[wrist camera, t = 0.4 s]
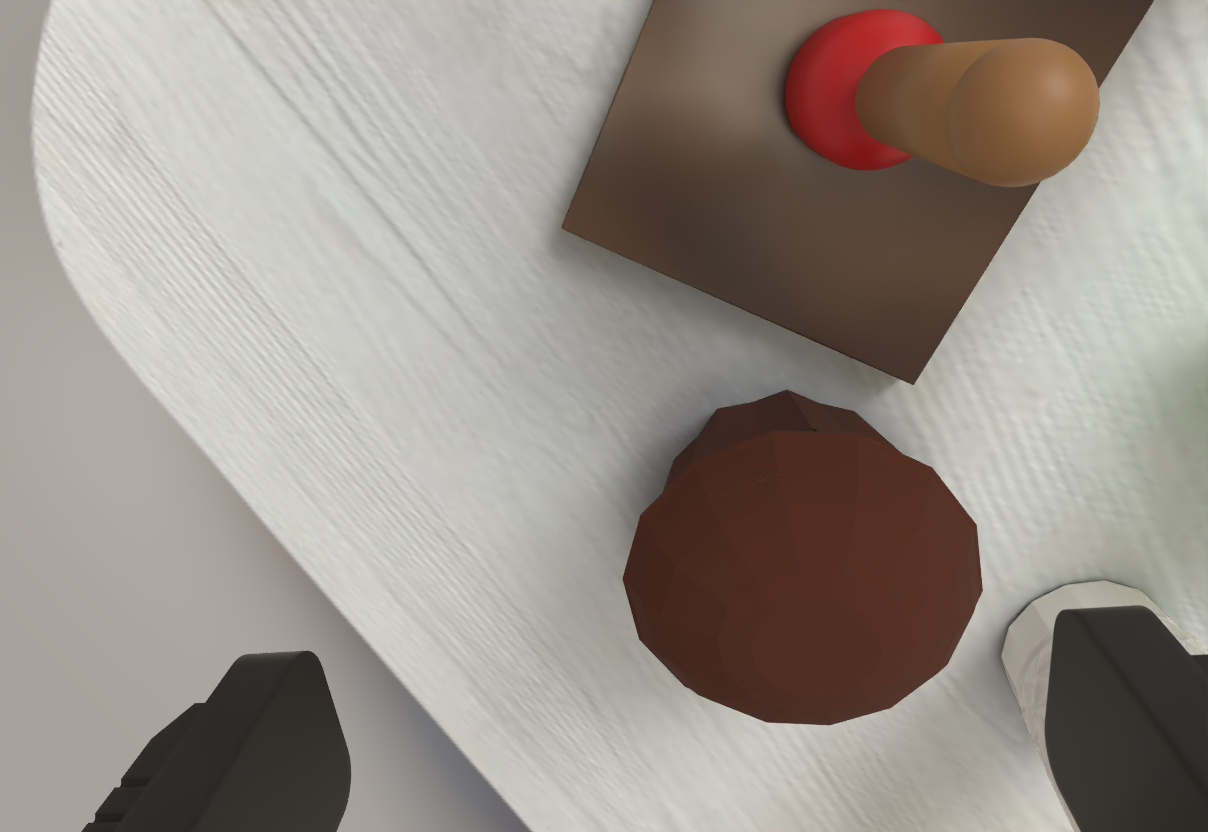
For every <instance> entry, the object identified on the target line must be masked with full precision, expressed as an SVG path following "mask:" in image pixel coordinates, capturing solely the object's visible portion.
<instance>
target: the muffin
mask: <svg viewBox="0 0 1208 832" xmlns="http://www.w3.org/2000/svg"><path fill="white" fill-rule="evenodd" d="M623 583H624V586H625V590H626V593H627V597H628V601H629V604H630V608H631V612H632V615H633V619H634V622H635V626H636V630H637V633H638V637H639V640H640V641H641V642H642V643H643V644H644V645H645V646H646V647H647V648H648V649H649V650H650V651H651V652H652V653H653V654H654V655H655V656H656V657H657V658H658V659H659V660H660V661H661V662H662V663H663V664H664V665H665V666H666V668H667V669H668V670H669V671H670V672H671V673H672V674H673V675H674V676H675V677H676V678H677V679H678V680H679V681H680V682H681V683H682V684H683V685H684V686H685V687H687V688H690V689H691V690H693V691H694V692H695V693H697V694H698V695H700V696H702V697H705V698H707V699H709V700H712V701H714V702H717V703H719V704H722V705H724V706H727V707H729V708H732V709H734V710H737V711H739V712H742V713H744V714H747V715H750V716H752V717H755V718H757V719H760V720H762V721H765V722H770V723H792V724H815V725H832V724H836V723H839V722H843V721H847V720H850V719H854V718H857V717H861V716H864V715H868V714H871V713H875V712H878V711H882V710H885V709H889V708H891V707H893V706H894V705H895V704H897V703H898V702H899V701H901V700H902V699H903V698H905V697H906V696H907V695H909V694H910V693H912V692H913V691H914V690H916V689H917V688H918V687H920V686H921V685H922V684H924V683H925V682H926V681H928V680H929V679H930V678H932V677H933V676H934V675H936V674H937V673H938V672H940V671H941V670H942V669H943V668H944V667H945V666H946V665H947V664H948V662H949V660H950V658H951V656H952V654H953V652H954V650H955V648H956V646H957V645H958V643H959V641H960V639H961V637H962V635H963V633H964V631H965V629H966V627H967V625H968V623H969V621H970V619H971V617H972V615H973V613H974V610H975V607H976V604H977V602H978V599H979V597H980V595H981V593H982V591H983V588H982V578H981V567H980V557H979V546H978V536H977V525H976V524H975V522H974V521H973V520H972V518H971V517H970V516H969V515H968V513H967V512H966V511H965V509H964V508H963V507H962V505H961V504H960V503H959V502H958V500H957V499H956V498H955V496H954V495H953V494H952V493H951V491H950V490H949V489H948V487H947V486H946V485H945V484H944V482H943V481H942V480H941V478H940V477H939V476H938V474H937V473H936V472H935V471H934V469H933V468H932V467H930V466H927V465H925V464H923V463H921V462H919V461H916V460H914V459H912V458H910V457H908V456H906V455H903V454H902V453H901V452H900V451H899V450H897V449H896V448H895V447H894V446H893V445H892V444H891V443H889V442H888V441H887V440H886V439H885V438H884V437H883V436H882V435H880V434H879V433H878V432H877V431H876V430H875V429H874V428H872V427H871V426H870V425H869V424H868V423H867V422H866V421H865V420H863V419H862V418H861V417H860V416H859V415H858V414H857V413H855V412H854V411H850V410H846V409H842V408H837V407H833V406H828V405H824V404H820V403H817V402H815V401H813V400H810V399H808V398H806V397H803V396H801V395H799V394H796V393H794V392H792V391H789V390H785V391H782V392H779V393H777V394H774V395H771V396H768V397H766V398H763V399H760V400H758V401H755V402H751V403H746V404H741V405H735V406H730V407H724V408H719V409H717V410H716V412H715V413H714V415H713V416H712V417H711V419H710V420H709V422H708V423H707V425H706V426H705V427H704V429H703V430H702V432H701V433H700V435H699V436H698V437H697V438H696V439H695V440H694V441H693V442H692V443H691V444H690V445H689V446H688V447H687V448H686V449H685V450H684V451H683V452H682V453H681V454H680V455H679V456H678V457H676V458H675V460H674V462H673V465H672V468H671V470H670V473H669V476H668V479H667V481H666V484H665V487H664V490H663V492H662V494H661V495H660V496H659V497H658V498H657V499H656V500H655V501H654V502H653V503H652V504H651V505H650V506H649V507H648V508H647V509H646V510H645V511H644V512H643V513H642V514H641V515H640V519H639V522H638V526H637V529H636V533H635V536H634V540H633V543H632V547H631V550H630V554H629V557H628V561H627V564H626V568H625V572H624V575H623Z"/></svg>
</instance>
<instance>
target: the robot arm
mask: <svg viewBox="0 0 1208 832" xmlns="http://www.w3.org/2000/svg"><path fill="white" fill-rule="evenodd" d="M1044 730H1045V744H1046V750H1047V755H1048V760H1049V764H1050V767H1051V771H1052V774H1053V777H1054V780H1055V782H1056V785H1057V787H1058V789H1059V791H1060V793H1061V795H1062V797H1063V799H1064V801H1065V803H1066V805H1067V806H1068V808H1069V810H1070V812H1071V814H1072V816H1073V818H1074V820H1075V822H1076V824H1077V825H1078V827H1079V829H1080V831H1081V832H1208V654H1202V655H1190V654H1189V653H1188V651H1187V650H1186V649H1185V648H1184V647H1183V646H1182V645H1181V643H1180V642H1179V641H1178V640H1177V639H1176V638H1175V636H1174V635H1173V634H1172V633H1171V632H1170V631H1169V629H1168V628H1167V627H1166V626H1165V625H1164V624H1163V623H1162V621H1161V620H1160V619H1159V618H1158V617H1157V616H1156V615H1155V614H1154V613H1153V612H1152V611H1151V610H1150V609H1149V608H1147V607H1145V606H1142V605H1133V606H1115V607H1098V608H1081V609H1064V610H1062V611H1060V613H1059V614H1058V615H1057V617H1056V620H1055V624H1054V631H1053V642H1052V652H1051V662H1050V673H1049V683H1048V693H1047V704H1046V714H1045V727H1044ZM350 784H351V763H350V756H349V752H348V748H347V745H346V742H345V738H344V735H343V732H342V729H341V726H340V722H339V719H338V716H337V713H336V710H335V706H334V703H333V700H332V697H331V693H330V690H329V687H328V684H327V681H326V677H325V674H324V671H323V668H322V665H321V663H320V661H319V659H318V657H317V656H316V655H315V654H314V653H312V652H311V651H295V652H278V653H262V654H247V655H243V656H241V657H239V658H238V659H237V660H236V661H235V662H234V663H233V665H232V666H231V667H230V669H229V670H228V672H227V673H226V675H225V676H224V677H223V679H222V680H221V682H220V683H219V684H218V686H217V687H216V688H215V690H214V691H213V693H212V694H211V695H210V697H209V698H208V700H207V701H206V702H205V703H195V704H194V705H192V706H191V707H190V708H189V709H187V710H186V711H185V712H184V713H183V714H181V715H180V716H179V717H178V718H177V719H175V720H174V721H173V722H171V723H170V724H169V725H168V726H167V727H166V728H164V729H163V730H162V731H160V732H159V733H158V734H157V735H156V736H154V737H153V738H152V739H151V740H150V742H149V743H148V744H147V746H146V747H145V748H144V749H143V751H142V752H141V754H140V755H139V756H138V758H137V759H136V760H135V761H134V763H133V764H132V766H131V767H130V768H129V769H128V771H127V772H126V773H125V775H124V776H123V777H122V779H121V786H120V787H119V788H114V789H113V791H112V792H111V793H110V795H109V796H108V797H107V799H106V800H105V801H104V803H103V804H102V805H101V807H100V808H99V809H98V811H97V812H96V813H95V821H94V822H93V823H88V824H87V825H86V827H85V828H84V829H83V830H82V832H336V831H337V829H338V826H339V824H340V822H341V819H342V817H343V815H344V812H345V809H346V806H347V802H348V797H349V792H350Z"/></svg>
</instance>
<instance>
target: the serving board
mask: <svg viewBox="0 0 1208 832" xmlns="http://www.w3.org/2000/svg"><path fill="white" fill-rule="evenodd" d="M1153 1H1154V0H654V1H653V3H652V6H651V8H650V11H649V13H648V16H647V18H646V20H645V23H644V25H643V28H642V30H641V33H640V35H639V38H638V40H637V43H636V45H635V47H634V50H633V52H632V55H631V57H630V60H629V62H628V65H627V67H626V70H625V72H624V75H623V77H622V79H621V82H620V84H619V87H618V89H617V92H616V94H615V97H614V99H613V102H612V104H611V107H610V109H609V111H608V114H607V116H606V119H605V121H604V124H603V126H602V129H601V131H600V134H599V136H598V139H597V141H596V143H595V146H594V148H593V151H592V153H591V156H590V158H589V161H588V163H587V166H586V168H585V170H584V173H583V175H582V178H581V180H580V183H579V185H578V188H577V190H576V193H575V195H574V198H573V200H572V202H571V205H570V207H569V210H568V212H567V215H566V217H565V220H564V222H563V225H562V229H563V230H565V231H568V232H570V233H572V234H574V235H577V236H579V237H581V238H583V239H586V240H588V241H590V242H592V243H595V244H597V245H599V246H601V247H604V248H606V249H608V250H610V251H613V252H615V253H617V254H619V255H622V256H624V257H626V258H628V259H631V260H633V261H635V262H637V263H640V264H642V265H644V266H646V267H649V268H651V269H653V270H655V271H658V272H660V273H662V274H664V275H667V276H669V277H671V278H673V279H676V280H678V281H680V282H682V283H685V284H687V285H689V286H691V287H694V288H696V289H698V290H700V291H703V292H705V293H707V294H709V295H712V296H714V297H716V298H718V299H721V300H723V301H725V302H727V303H730V304H732V305H734V306H736V307H739V308H741V309H743V310H745V311H748V312H750V313H752V314H754V315H757V316H759V317H761V318H763V319H766V320H768V321H770V322H772V323H775V324H777V325H779V326H781V327H784V328H786V329H788V330H790V331H793V332H795V333H797V334H799V335H802V336H804V337H806V338H808V339H811V340H813V341H815V342H817V343H820V344H822V345H824V346H826V347H829V348H831V349H833V350H835V351H838V352H840V353H842V354H844V355H847V356H849V357H851V358H853V359H856V360H858V361H860V362H862V363H865V364H867V365H869V366H871V367H874V368H876V369H878V370H880V371H883V372H885V373H887V374H889V375H892V376H894V377H896V378H898V379H901V380H903V381H905V382H907V383H910V384H912V385H914V383H915V382H916V380H917V379H918V377H919V375H920V374H921V372H922V371H923V369H924V367H925V366H926V364H927V363H928V361H929V359H930V358H931V356H932V355H933V353H934V351H935V350H936V348H937V347H938V345H939V343H940V342H941V340H942V339H943V337H944V335H945V334H946V332H947V331H948V329H949V327H950V326H951V324H952V323H953V321H954V319H955V318H956V316H957V315H958V313H959V311H960V310H961V308H962V307H963V305H964V303H965V302H966V300H967V299H968V297H969V295H970V294H971V292H972V291H973V289H974V287H975V286H976V284H977V283H978V281H979V279H980V278H981V276H982V275H983V273H984V271H985V270H986V268H987V267H988V265H989V263H990V262H991V260H992V259H993V257H994V255H995V254H996V252H997V251H998V249H999V247H1000V246H1001V244H1002V243H1003V241H1004V239H1005V238H1006V236H1007V235H1008V233H1009V231H1010V230H1011V228H1012V227H1013V225H1014V223H1015V222H1016V220H1017V219H1018V217H1019V215H1020V214H1021V212H1022V211H1023V209H1024V207H1025V206H1026V204H1027V203H1028V201H1029V199H1030V198H1031V196H1032V195H1033V193H1034V191H1035V190H1036V188H1037V187H1038V185H1039V183H1040V182H1041V181H1040V182H1038V183H1034V184H1031V185H1027V186H1022V187H1000V186H993V185H989V184H985V183H983V182H980V181H978V180H975V179H972V178H970V177H967V176H965V175H962V174H960V173H957V172H954V171H952V170H949V169H947V168H944V167H942V166H939V165H936V164H934V163H931V162H929V161H926V160H924V159H921V158H919V157H916V156H912V157H911V158H909V159H908V160H906V161H904V162H901V163H899V164H897V165H894V166H891V167H888V168H884V169H879V170H867V171H865V170H855V169H851V168H846V167H843V166H840V165H838V164H835V163H834V162H832V161H830V160H828V159H826V158H825V157H823V156H822V155H820V154H818V153H817V152H815V151H814V150H812V149H811V148H810V147H808V146H807V145H806V144H805V143H804V142H803V141H802V140H801V139H800V138H799V136H798V135H797V133H796V132H795V130H794V129H793V127H792V125H791V122H790V120H789V117H788V114H787V109H786V103H785V87H786V80H787V76H788V72H789V69H790V66H791V64H792V61H793V59H794V57H795V56H796V54H797V52H798V50H799V49H800V48H801V46H802V45H803V43H804V42H805V41H806V40H807V39H808V38H809V37H810V36H811V35H812V34H813V33H814V32H815V31H816V30H818V29H819V28H820V27H822V26H823V25H825V24H826V23H828V22H831V21H833V20H835V19H837V18H840V17H843V16H846V15H850V14H854V13H858V12H862V11H867V10H872V9H896V10H900V11H905V12H908V13H910V14H913V15H915V16H917V17H919V18H921V19H922V20H924V21H925V22H927V23H928V24H929V25H930V26H931V27H933V28H934V30H935V31H936V32H937V33H938V34H939V35H940V36H941V38H942V39H943V41H944V42H945V43H955V42H971V41H987V40H1003V39H1019V38H1043V39H1048V40H1052V41H1055V42H1058V43H1061V44H1063V45H1066V46H1067V47H1069V48H1071V49H1072V50H1074V51H1075V52H1077V53H1078V54H1079V55H1080V57H1081V58H1082V59H1083V60H1084V61H1085V62H1086V63H1087V64H1088V66H1089V67H1090V69H1091V71H1092V73H1093V74H1094V76H1095V79H1096V82H1097V86H1098V89H1099V87H1100V86H1101V84H1102V83H1103V81H1104V79H1105V78H1106V76H1107V75H1108V73H1109V71H1110V70H1111V68H1112V67H1113V65H1114V63H1115V62H1116V60H1117V59H1118V57H1119V55H1120V54H1121V52H1122V51H1123V49H1124V47H1125V46H1126V44H1127V43H1128V41H1129V39H1130V38H1131V36H1132V35H1133V33H1134V31H1135V30H1136V28H1137V27H1138V25H1139V23H1140V22H1141V20H1142V19H1143V17H1144V15H1145V14H1146V12H1147V11H1148V9H1149V7H1150V6H1151V4H1152V3H1153Z"/></svg>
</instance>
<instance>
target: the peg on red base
mask: <svg viewBox="0 0 1208 832" xmlns="http://www.w3.org/2000/svg"><path fill="white" fill-rule="evenodd" d="M785 103H786V109H787V114H788V117H789V120H790V122H791V125H792V127H793V129H794V130H795V132H796V133H797V135H798V136H799V138H800V139H801V140H802V141H803V142H804V143H805V144H806V145H807V146H808V147H810V148H811V149H812V150H814V151H815V152H817V153H818V154H820V155H822V156H823V157H825V158H826V159H828V160H830V161H832V162H834V163H835V164H838V165H840V166H843V167H846V168H851V169H855V170H865V171H867V170H879V169H884V168H888V167H891V166H894V165H897V164H899V163H901V162H904V161H906V160H908V159H909V158H911V157H912V156H916V157H919V158H921V159H924V160H926V161H929V162H931V163H934V164H936V165H939V166H942V167H944V168H947V169H949V170H952V171H954V172H957V173H960V174H962V175H965V176H967V177H970V178H972V179H975V180H978V181H980V182H983V183H985V184H989V185H993V186H1000V187H1022V186H1027V185H1031V184H1034V183H1038V182H1040V181H1042V180H1044V179H1047V178H1049V177H1051V176H1053V175H1055V174H1057V173H1058V172H1059V171H1061V170H1062V169H1064V168H1065V167H1067V166H1068V165H1069V164H1070V163H1071V162H1072V161H1073V160H1074V159H1075V158H1076V157H1077V156H1078V155H1079V154H1080V152H1081V151H1082V150H1083V148H1084V147H1085V146H1086V144H1087V143H1088V141H1089V139H1090V137H1091V135H1092V133H1093V131H1094V128H1095V125H1096V122H1097V119H1098V113H1099V105H1100V101H1099V89H1098V86H1097V82H1096V79H1095V76H1094V74H1093V73H1092V71H1091V69H1090V67H1089V66H1088V64H1087V63H1086V62H1085V61H1084V60H1083V59H1082V58H1081V57H1080V55H1079V54H1078V53H1077V52H1075V51H1074V50H1072V49H1071V48H1069V47H1067V46H1066V45H1063V44H1061V43H1058V42H1055V41H1052V40H1048V39H1043V38H1019V39H1003V40H987V41H971V42H955V43H945V42H944V41H943V39H942V38H941V36H940V35H939V34H938V33H937V32H936V31H935V30H934V28H933V27H931V26H930V25H929V24H928V23H927V22H925V21H924V20H922V19H921V18H919V17H917V16H915V15H913V14H910V13H908V12H905V11H900V10H896V9H872V10H867V11H862V12H858V13H854V14H850V15H846V16H843V17H840V18H837V19H835V20H833V21H831V22H828V23H826V24H825V25H823V26H822V27H820V28H819V29H818V30H816V31H815V32H814V33H813V34H812V35H811V36H810V37H809V38H808V39H807V40H806V41H805V42H804V43H803V45H802V46H801V48H800V49H799V50H798V52H797V54H796V56H795V57H794V59H793V61H792V64H791V66H790V69H789V72H788V76H787V80H786V87H785Z"/></svg>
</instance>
